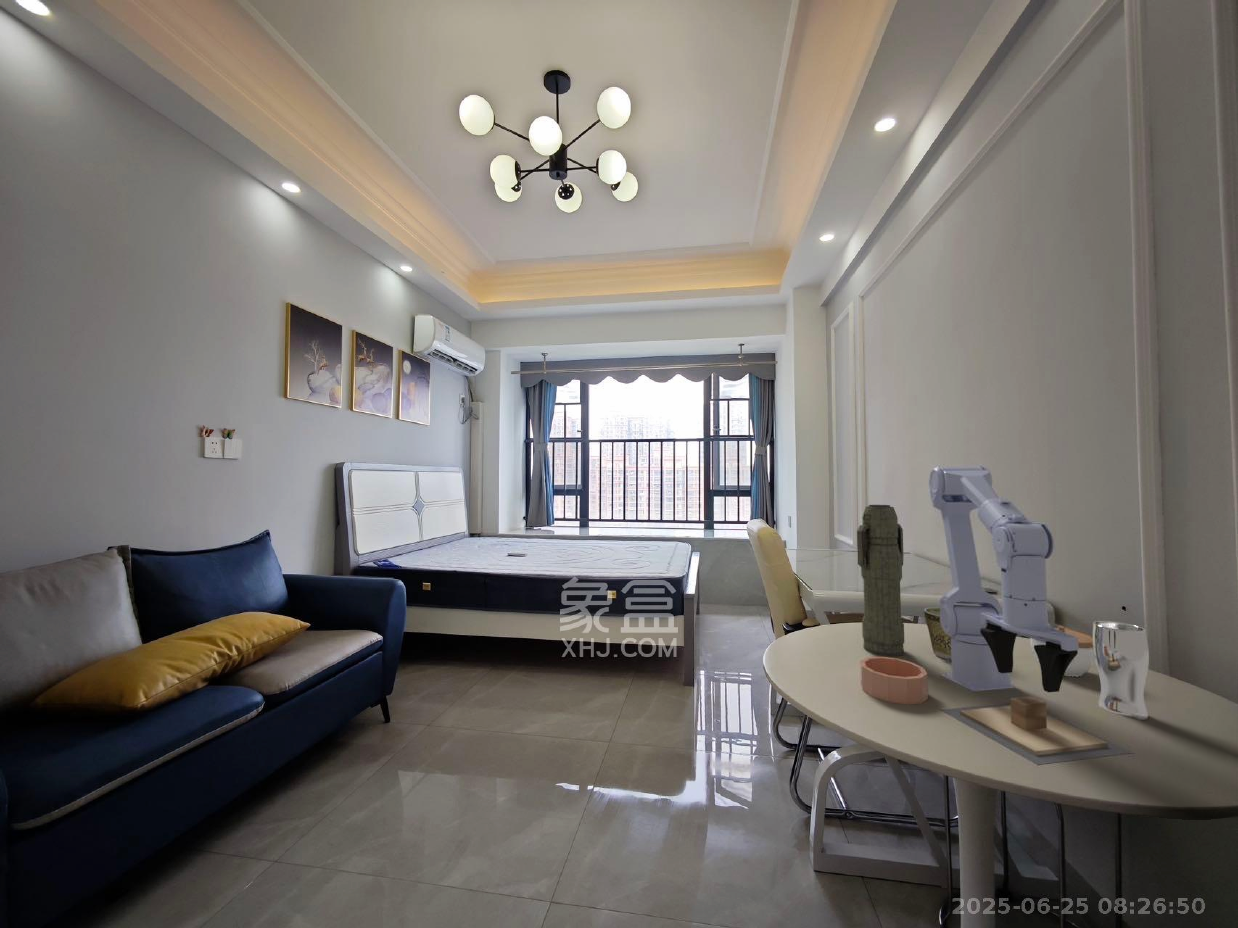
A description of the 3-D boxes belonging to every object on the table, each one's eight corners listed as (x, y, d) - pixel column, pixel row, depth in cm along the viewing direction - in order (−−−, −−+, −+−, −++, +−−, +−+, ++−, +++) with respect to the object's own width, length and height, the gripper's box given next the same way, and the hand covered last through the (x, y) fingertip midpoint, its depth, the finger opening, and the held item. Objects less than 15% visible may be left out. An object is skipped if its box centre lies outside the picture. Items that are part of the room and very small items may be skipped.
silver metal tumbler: (1142, 725, 81) (1138, 633, 82) (1087, 708, 87) (1084, 623, 88) (1158, 715, 85) (1154, 627, 85) (1104, 699, 91) (1100, 618, 91)
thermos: (849, 646, 120) (846, 504, 122) (886, 641, 124) (882, 503, 126) (879, 659, 112) (875, 506, 113) (917, 652, 116) (913, 505, 117)
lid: (1023, 707, 87) (1022, 681, 87) (1107, 746, 74) (1106, 715, 74) (959, 714, 85) (959, 687, 85) (1035, 755, 72) (1034, 723, 72)
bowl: (897, 679, 100) (897, 655, 101) (941, 703, 90) (940, 675, 90) (849, 683, 99) (848, 658, 99) (887, 708, 88) (887, 680, 88)
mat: (1022, 704, 89) (1022, 701, 89) (1134, 755, 72) (1134, 752, 72) (940, 712, 86) (940, 709, 86) (1037, 768, 69) (1037, 764, 69)
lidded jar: (1112, 682, 98) (1111, 635, 99) (1052, 679, 100) (1051, 633, 100) (1072, 663, 109) (1070, 620, 109) (1018, 660, 110) (1017, 618, 111)
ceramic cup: (958, 666, 108) (957, 620, 108) (915, 651, 117) (914, 609, 117) (994, 657, 113) (993, 613, 113) (950, 644, 122) (949, 603, 122)
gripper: (1093, 606, 74) (1097, 698, 73) (1003, 586, 88) (1006, 663, 87) (1054, 608, 72) (1058, 702, 72) (969, 588, 87) (971, 666, 86)
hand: (1027, 681), depth 79 cm, fingers open, 7 cm apart
